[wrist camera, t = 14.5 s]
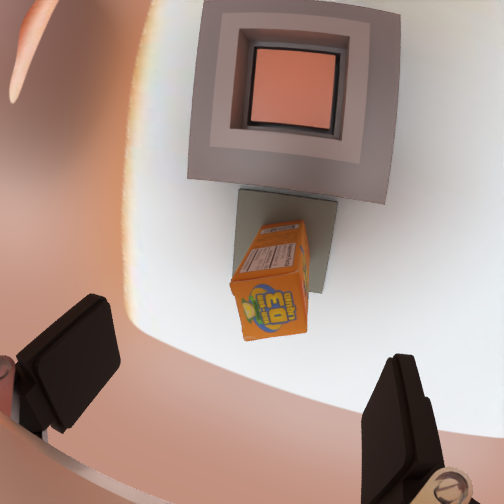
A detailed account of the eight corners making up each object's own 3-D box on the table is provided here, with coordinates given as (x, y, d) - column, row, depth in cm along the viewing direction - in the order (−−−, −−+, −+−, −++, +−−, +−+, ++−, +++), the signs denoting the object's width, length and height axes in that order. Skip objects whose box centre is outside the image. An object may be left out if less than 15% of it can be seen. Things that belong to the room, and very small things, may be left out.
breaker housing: (222, 19, 19) (189, -15, 13) (388, 33, 17) (410, -1, 11) (208, 171, 23) (169, 184, 17) (373, 193, 21) (393, 214, 15)
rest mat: (240, 188, 23) (238, 189, 22) (337, 201, 22) (337, 202, 21) (233, 276, 25) (232, 279, 25) (321, 290, 24) (321, 293, 24)
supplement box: (315, 260, 23) (309, 340, 14) (269, 266, 24) (236, 344, 15) (307, 215, 22) (298, 272, 13) (260, 223, 23) (218, 281, 14)
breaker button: (266, 60, 18) (257, 49, 15) (333, 67, 17) (335, 55, 15) (260, 123, 20) (250, 120, 17) (327, 130, 19) (329, 128, 16)
